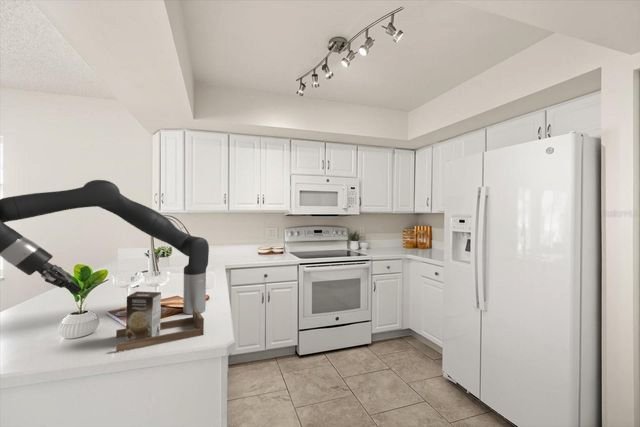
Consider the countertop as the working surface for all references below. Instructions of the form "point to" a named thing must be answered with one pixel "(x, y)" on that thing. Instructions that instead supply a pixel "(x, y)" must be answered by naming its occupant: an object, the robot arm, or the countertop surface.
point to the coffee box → (143, 315)
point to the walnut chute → (195, 320)
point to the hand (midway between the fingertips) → (79, 291)
